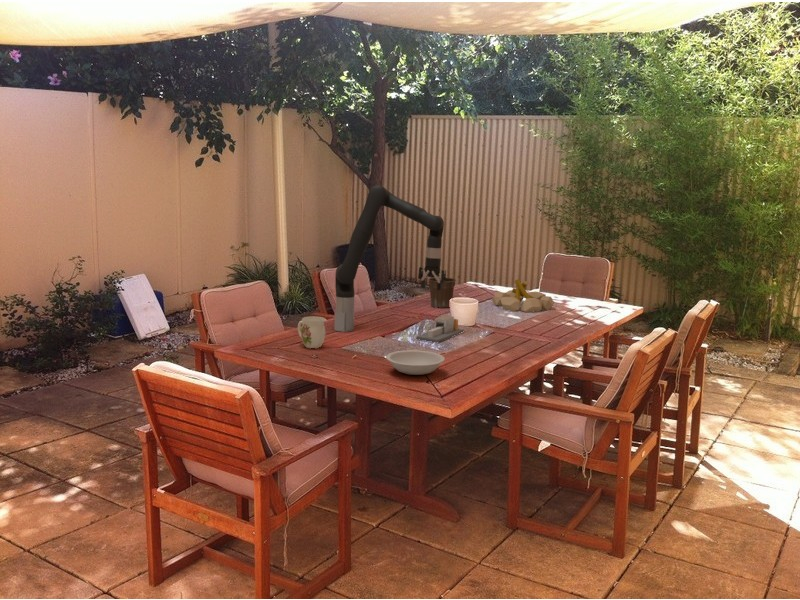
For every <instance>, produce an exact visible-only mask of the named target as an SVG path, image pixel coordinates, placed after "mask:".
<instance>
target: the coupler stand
mask: <svg viewBox="0 0 800 600" xmlns="http://www.w3.org/2000/svg"><path fill="white" fill-rule="evenodd" d="M458 327H459V318H458V319H457V318H456V319H455V318H454V326H453V331H451V332H449V333H446V334H444V325H442V326H439V327H437V328H435V327H434V328H432V329H429V330H427V331H426V332H424V333H422V334H418V335H416V337H415V340H416V339H420V340H419V341H422V340H426V341H425V342H428V341H432V342H431V343H434V342H440V341H442V342H444V341H446V340H445V339H447V338H449V339H451V338H450V337H452V336H454V335H456V336H458V335H457V334H459V333H461V332H463V331H464V332H465V329H462V328H458ZM461 334H462V333H461ZM459 335H460V334H459ZM454 337H455V336H454ZM452 338H453V337H452ZM443 340H444V341H443ZM447 340H448V339H447ZM440 343H441V342H440Z"/></svg>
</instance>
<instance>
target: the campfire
mask: <svg viewBox="0 0 800 600" xmlns="http://www.w3.org/2000/svg"><path fill="white" fill-rule="evenodd" d="M514 284H515V288H514V287H513V288H512V289H511V290H508V291H506V292H500V291H497V292H495V294H494V295H493V297H492V298H491V301H492V302H493V305H494V306H495V307H502V309H503V310H504V309H505V310H504V311H508V310H510V311H509V312H515V311H516V312H517V311H519V310H520V311H522V312H526V313H534V312H533V311H538V312H540V311H542V309H545V310H544V311H549V309H550V308H551V309H552V307H553V306H554V305H555V302H554V299H553V298H552V296H549V295H546V294H545V293H543V292H540V291H531V292H527V290H526V287H527V286H528V284H529V283H528V281H527V280H524V281H523V282H521V281H520V280H519V279H516V280H515V281H514ZM524 299H525V300H524ZM522 301H523V302H522ZM521 302H522V305H521ZM520 306H521V308H520ZM551 309H550V310H551Z"/></svg>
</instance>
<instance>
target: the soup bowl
mask: <svg viewBox="0 0 800 600" xmlns="http://www.w3.org/2000/svg"><path fill="white" fill-rule="evenodd" d="M385 358H386V361H388V362H390V364H391V365H392V367H393V368H394V369H395V370H396V371H398V372H400V373H402V374H406V375H410V376H411V375H412V376H414V375H415V376H418V375H419V376H421V375H427V374H430V373H432V372H434V371H435V370H437V369H438V367H440V364H442V363H444V361H445V359H446V358H445V357H444V355H442V354H439V353H437V352H434V351H427V350H417V349H413V350H412V349H409V350H408V349H407V350H405V349H404V350H398V351H392V352H390V353H388V354H387V355H386V356H385Z"/></svg>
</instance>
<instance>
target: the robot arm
mask: <svg viewBox="0 0 800 600" xmlns="http://www.w3.org/2000/svg"><path fill="white" fill-rule="evenodd" d="M382 207H387V208H389V209H391V210H394V211H396V212H398V213H399V214H401V215H403V216H404V217H406V218H408V219H409V220H410V219H411V220H412V221H414V222H416V223H418V224H421V225H422V226H424V227H425V228H427V229H429V233H428V236H427V242H426V251H425V263H424V265H425V267H424V266H420V267H418V274H417V275H418V277H417V278H418V279H419V280H420V281H421V289H425V288H426V283H427V281H426V280H427V279H428V278H435V279H436V280H437V281H438V284H437V291H440V289H441V286H442V283H443V282H446V278H447V274H446V273H447V270H446V269H441V264H442V244H443V243H442V242H443V238H442V237H443V233H444V227H445V226H444V225H445V222H444V219H443V217H442V216H440V215H433V214H432V213H430V212H427V210H425V209H424V208H422V207H420V206H418V205H416V204H414V203H411V202H408V201H406V200H404V199H403V198H400V197H398V196H396V195H395V194H393V193H391V192H390V191H388V189H387V188H386V187H384V186H383V185H380V184H375V185H373V186H372V187H370V189H369V191H368V193H367V197H366V200H365V204H364V206H363V209H362V211H361V212H360V213H361V214H360V216H359V218H358V220H357V222H356V224H355V226H354V229H353V231H352V233H351V236H350V239H349V240H350V241H349V244H348V249H347V253H346V256H345V258H344V260H343V262H342V263H341V264H339V265H338V266H337V268H336V269H335V274H334V275H335V277H334V279H335V280H334V281H335V282H334V283H335V285H334V287H335V312H334V331H337V332H342V333H346V332H353V331H354V330H355V285H354V284H355V282H354V280H355V279H356V276H357V273H358V269H359V266H360V263H361V259H362V258H363V255H364V254H365V251H366V250H367V248H368V245H369V243H370V241H371V239H372V236H373V233H374V230H375V225H376V221H377V216H378V213H379V211H380V209H381V208H382ZM424 272H425V273H424ZM440 274H441V275H440Z"/></svg>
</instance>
